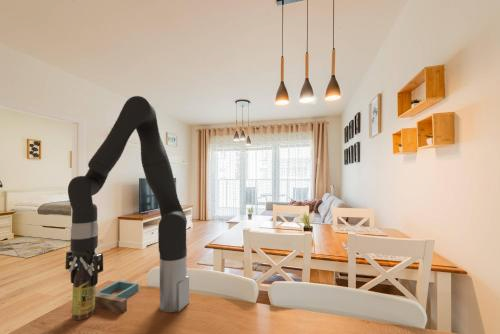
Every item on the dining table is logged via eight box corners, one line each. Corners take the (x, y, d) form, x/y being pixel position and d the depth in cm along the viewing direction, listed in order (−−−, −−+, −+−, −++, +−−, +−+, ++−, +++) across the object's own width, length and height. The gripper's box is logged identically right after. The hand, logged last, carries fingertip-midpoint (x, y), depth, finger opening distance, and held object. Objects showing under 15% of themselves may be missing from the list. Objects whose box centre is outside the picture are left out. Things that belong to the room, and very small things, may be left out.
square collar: (138, 291, 94) (138, 283, 94) (114, 305, 84) (114, 297, 84) (119, 287, 97) (119, 280, 97) (94, 301, 87) (94, 293, 87)
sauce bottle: (82, 322, 74) (83, 259, 75) (66, 320, 75) (67, 258, 76) (99, 310, 81) (100, 252, 81) (84, 309, 82) (85, 251, 82)
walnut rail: (126, 310, 81) (126, 298, 81) (121, 313, 79) (121, 301, 79) (86, 301, 86) (86, 290, 87) (81, 304, 85) (81, 293, 85)
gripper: (110, 234, 80) (109, 282, 80) (80, 231, 85) (79, 276, 84) (89, 239, 73) (88, 292, 72) (57, 236, 77) (56, 286, 77)
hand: (83, 283), depth 78 cm, fingers open, 8 cm apart
